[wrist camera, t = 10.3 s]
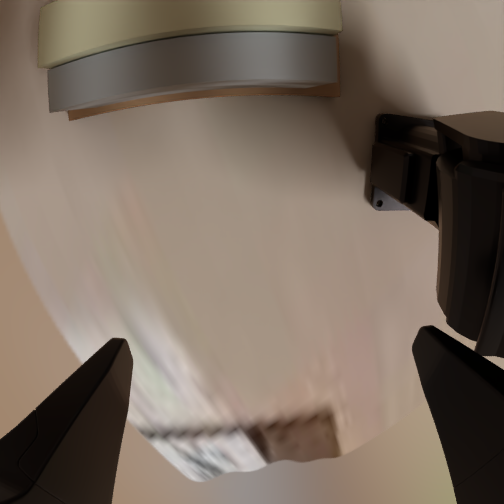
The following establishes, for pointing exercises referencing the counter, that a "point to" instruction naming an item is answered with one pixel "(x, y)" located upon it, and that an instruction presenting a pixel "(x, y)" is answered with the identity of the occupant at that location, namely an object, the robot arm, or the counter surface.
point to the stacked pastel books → (185, 51)
